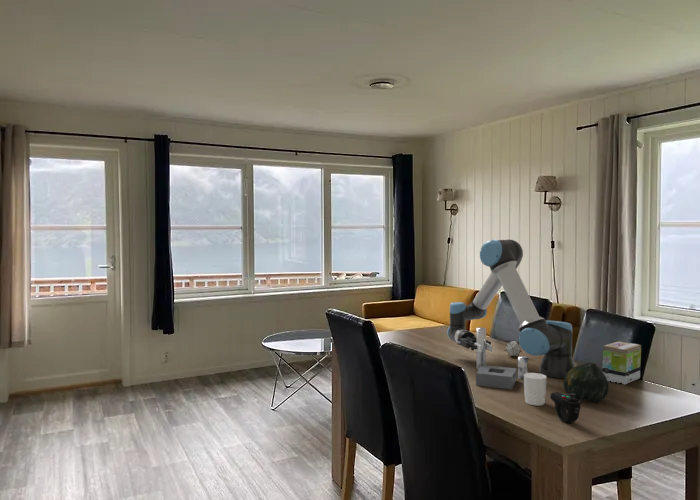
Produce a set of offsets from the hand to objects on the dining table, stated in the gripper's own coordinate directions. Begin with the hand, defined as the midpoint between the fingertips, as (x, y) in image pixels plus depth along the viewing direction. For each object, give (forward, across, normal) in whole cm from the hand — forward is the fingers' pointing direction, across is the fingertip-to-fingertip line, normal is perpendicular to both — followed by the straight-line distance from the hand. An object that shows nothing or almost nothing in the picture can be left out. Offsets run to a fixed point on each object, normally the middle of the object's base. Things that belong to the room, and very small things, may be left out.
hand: (486, 348), depth 228 cm
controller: (+54, -3, -13) cm, 56 cm away
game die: (-31, -29, -12) cm, 44 cm away
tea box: (+15, -54, -12) cm, 57 cm away
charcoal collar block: (+10, 0, -12) cm, 15 cm away
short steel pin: (+5, -14, -12) cm, 19 cm away
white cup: (+36, -2, -12) cm, 38 cm away
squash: (+36, -23, -12) cm, 44 cm away
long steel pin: (-5, 0, -10) cm, 11 cm away
